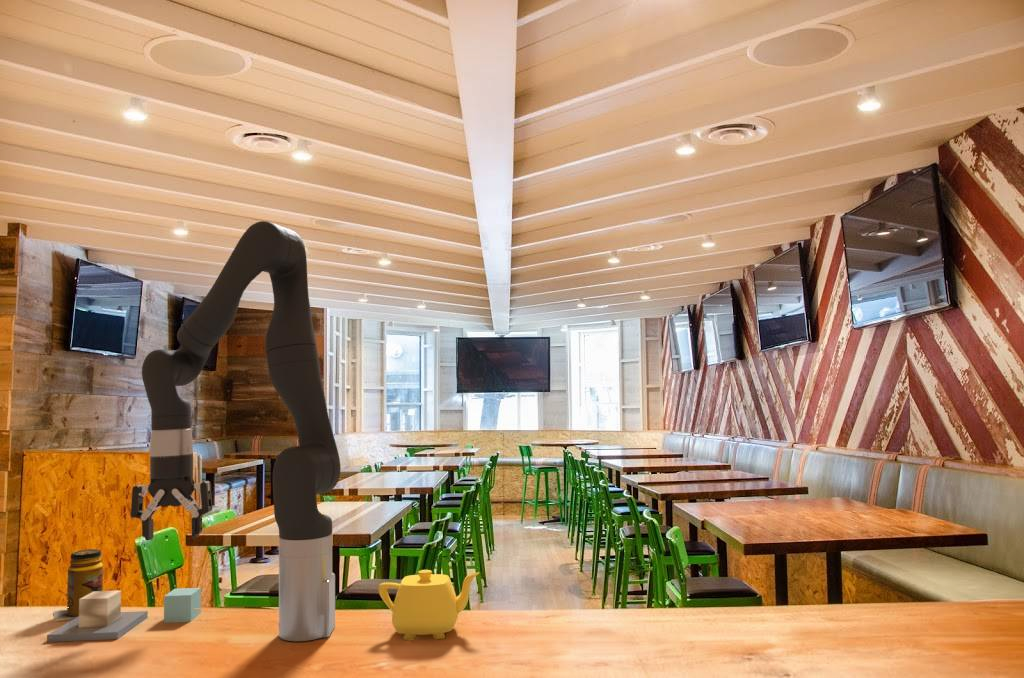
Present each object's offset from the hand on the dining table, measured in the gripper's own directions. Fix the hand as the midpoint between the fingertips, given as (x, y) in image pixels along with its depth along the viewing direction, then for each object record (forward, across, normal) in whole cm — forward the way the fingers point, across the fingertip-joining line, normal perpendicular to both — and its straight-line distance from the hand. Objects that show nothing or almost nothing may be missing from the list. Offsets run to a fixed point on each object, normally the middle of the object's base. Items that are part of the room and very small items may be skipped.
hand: (172, 538), depth 138 cm
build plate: (+15, +12, +3) cm, 20 cm away
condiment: (+15, +21, -8) cm, 27 cm away
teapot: (+17, -49, +14) cm, 53 cm away
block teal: (+15, -1, -2) cm, 16 cm away
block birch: (+14, +12, +3) cm, 19 cm away
